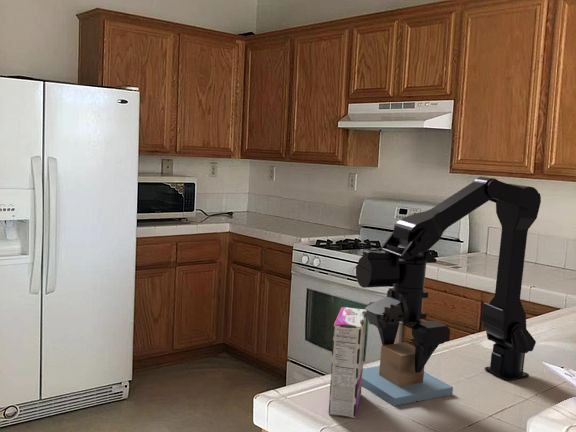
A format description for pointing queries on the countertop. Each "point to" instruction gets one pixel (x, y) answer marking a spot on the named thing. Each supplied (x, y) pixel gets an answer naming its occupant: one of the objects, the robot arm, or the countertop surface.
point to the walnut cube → (399, 364)
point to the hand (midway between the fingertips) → (402, 363)
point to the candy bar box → (347, 362)
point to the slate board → (404, 388)
